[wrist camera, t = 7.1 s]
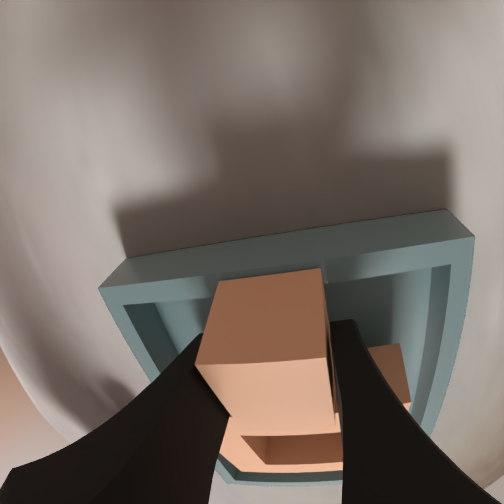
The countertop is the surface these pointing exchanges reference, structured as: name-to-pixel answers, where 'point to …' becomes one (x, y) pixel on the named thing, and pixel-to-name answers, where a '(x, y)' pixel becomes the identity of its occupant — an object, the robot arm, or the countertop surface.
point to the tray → (336, 293)
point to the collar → (280, 373)
